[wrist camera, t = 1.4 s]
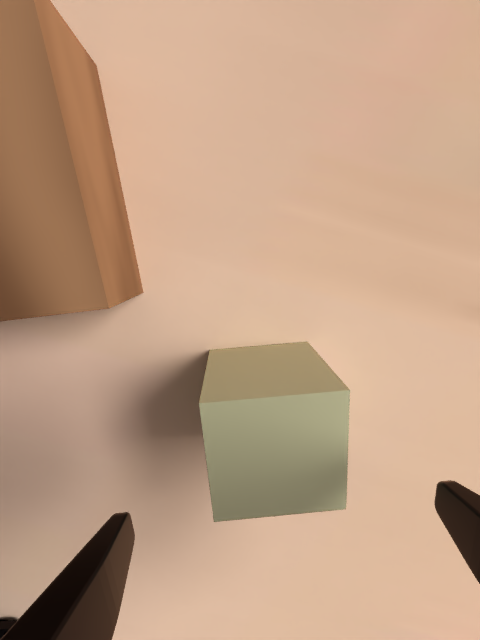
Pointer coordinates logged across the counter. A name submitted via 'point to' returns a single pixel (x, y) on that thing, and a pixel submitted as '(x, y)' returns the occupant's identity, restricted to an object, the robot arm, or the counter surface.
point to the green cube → (274, 432)
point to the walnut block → (57, 174)
